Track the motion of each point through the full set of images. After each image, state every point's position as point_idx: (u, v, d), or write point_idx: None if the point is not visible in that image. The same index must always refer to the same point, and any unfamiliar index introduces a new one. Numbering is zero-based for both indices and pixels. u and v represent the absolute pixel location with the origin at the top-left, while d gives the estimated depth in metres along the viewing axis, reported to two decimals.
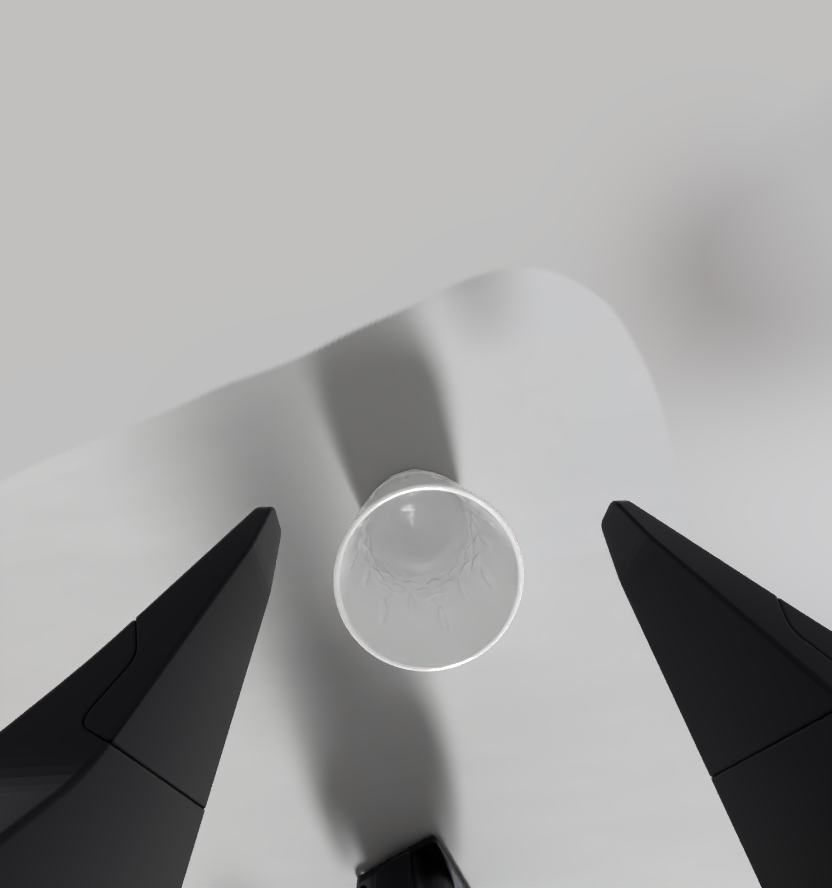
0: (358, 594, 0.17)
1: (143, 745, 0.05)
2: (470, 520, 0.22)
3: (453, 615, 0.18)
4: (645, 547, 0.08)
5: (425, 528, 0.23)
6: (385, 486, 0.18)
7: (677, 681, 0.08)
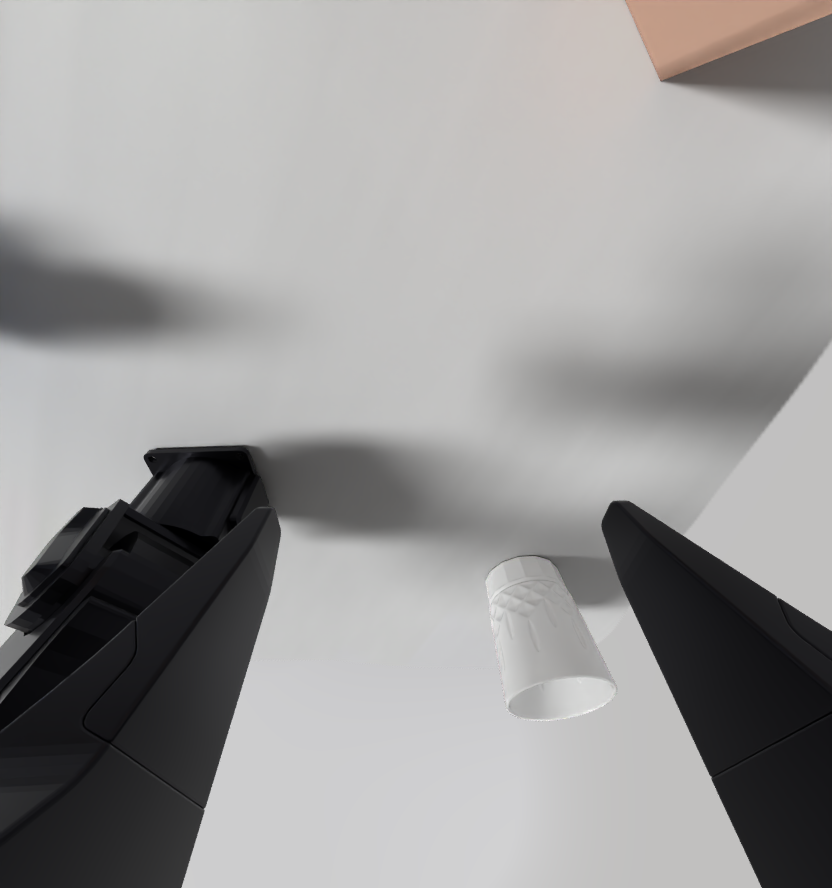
0: None
1: (143, 746, 0.05)
2: None
3: None
4: (645, 547, 0.08)
5: None
6: None
7: (677, 680, 0.08)
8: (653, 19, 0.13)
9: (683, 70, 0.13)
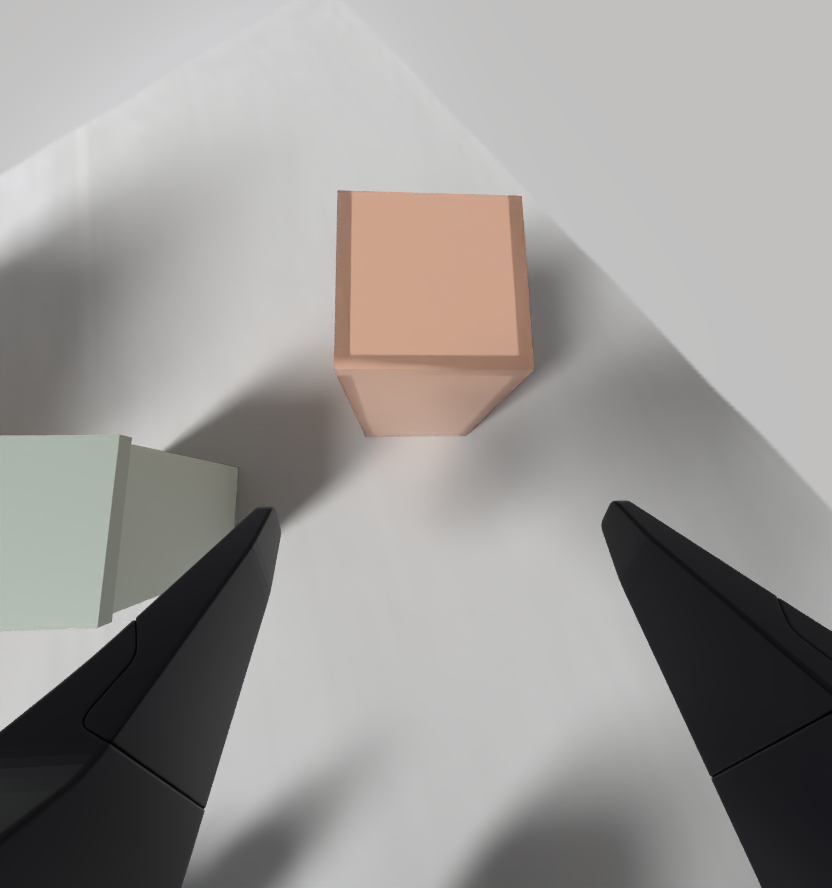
0: None
1: (143, 746, 0.05)
2: None
3: None
4: (645, 547, 0.08)
5: None
6: None
7: (677, 680, 0.08)
8: (437, 433, 0.23)
9: (469, 431, 0.22)
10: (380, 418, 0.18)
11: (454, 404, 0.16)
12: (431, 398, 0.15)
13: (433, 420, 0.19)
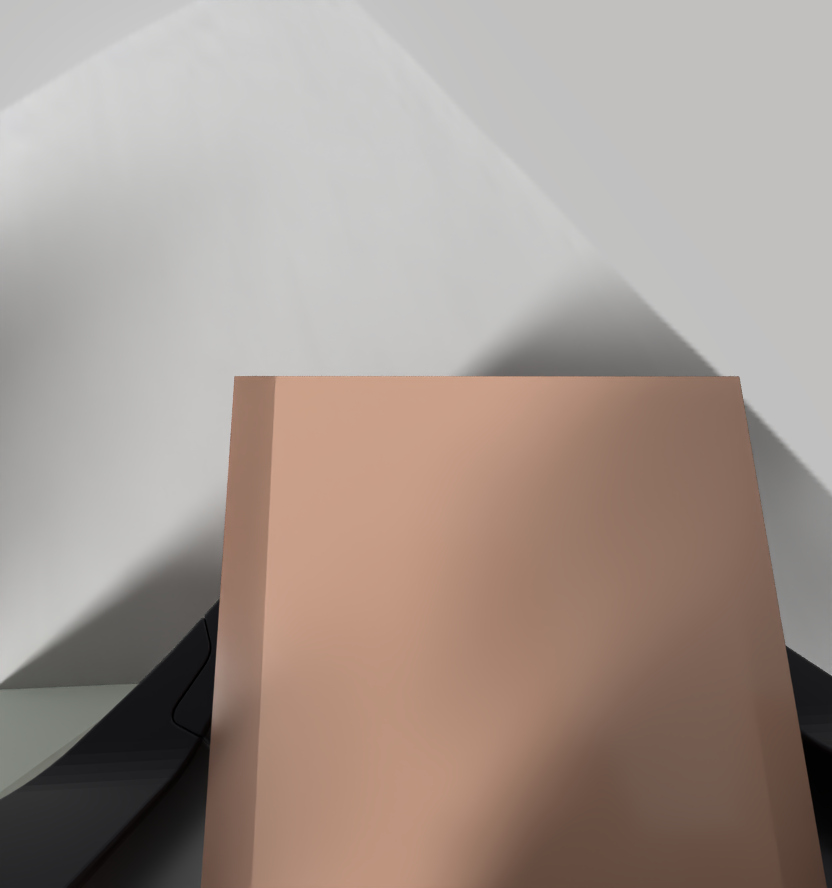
0: None
1: None
2: None
3: None
4: None
5: None
6: None
7: None
8: None
9: None
10: None
11: None
12: None
13: None
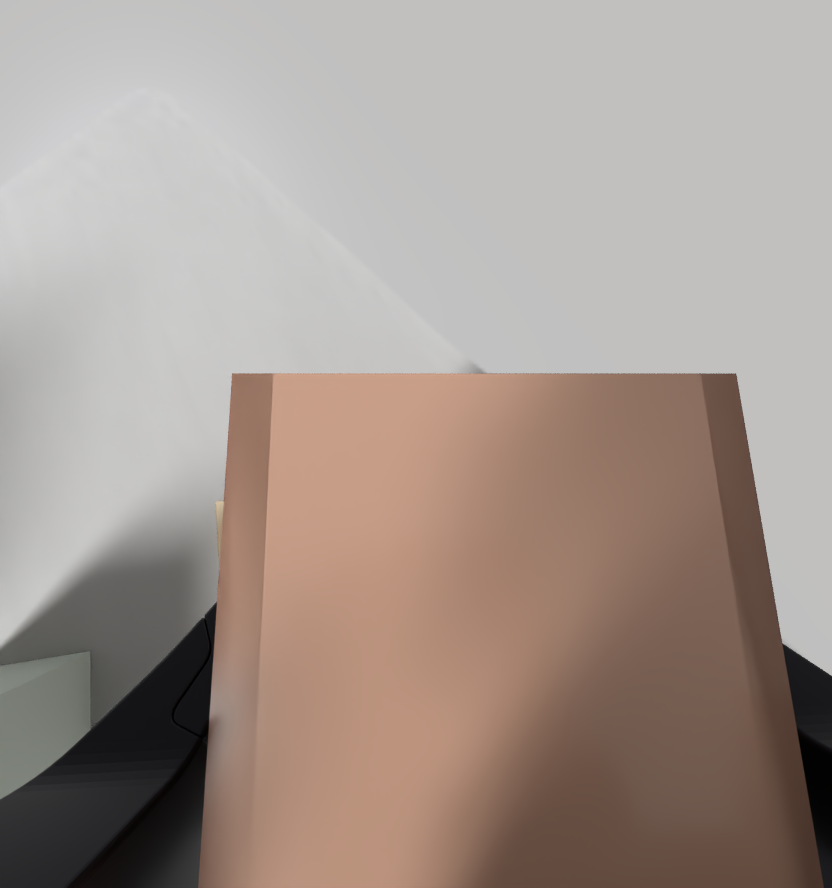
0: None
1: None
2: None
3: None
4: None
5: None
6: None
7: None
8: None
9: None
10: None
11: None
12: None
13: None
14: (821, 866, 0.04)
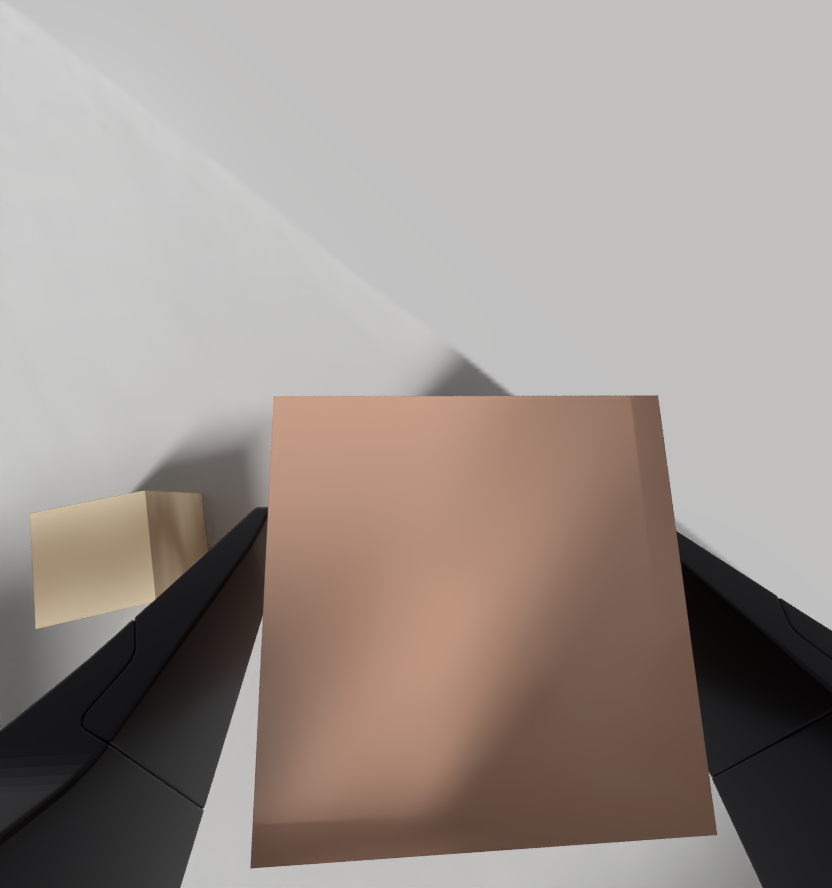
0: None
1: (142, 746, 0.05)
2: None
3: None
4: None
5: None
6: None
7: None
8: None
9: None
10: None
11: None
12: None
13: None
14: None
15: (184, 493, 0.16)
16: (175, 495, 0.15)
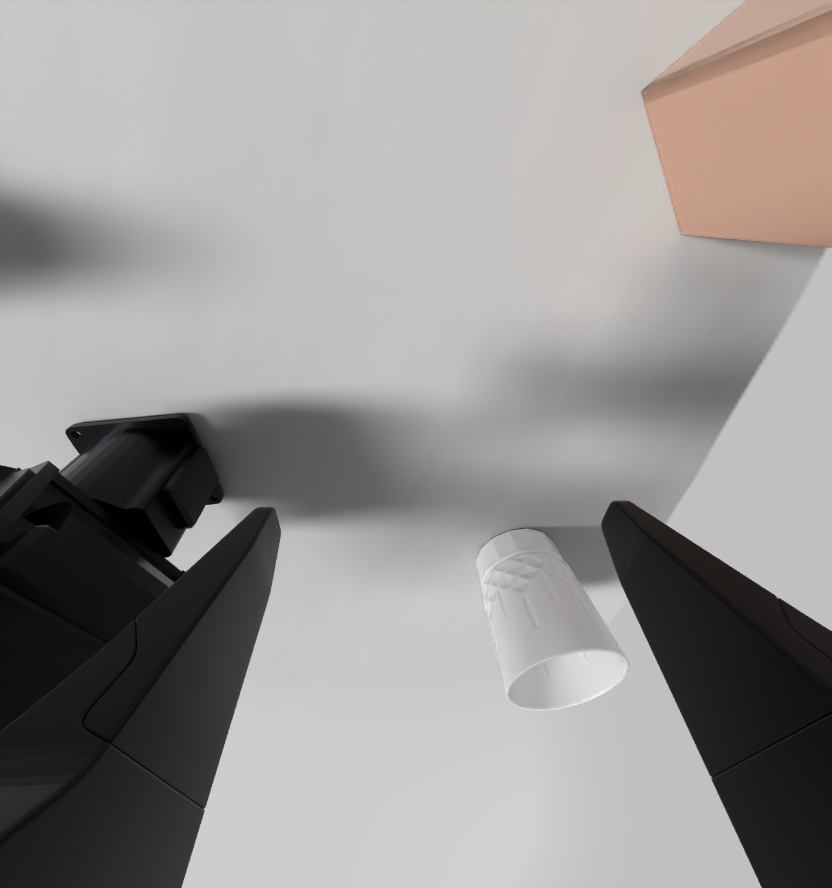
0: None
1: (143, 746, 0.05)
2: None
3: None
4: (645, 547, 0.08)
5: None
6: None
7: (677, 680, 0.08)
8: (685, 196, 0.16)
9: (702, 235, 0.17)
10: (753, 89, 0.11)
11: None
12: None
13: (752, 177, 0.13)
14: None
15: None
16: None
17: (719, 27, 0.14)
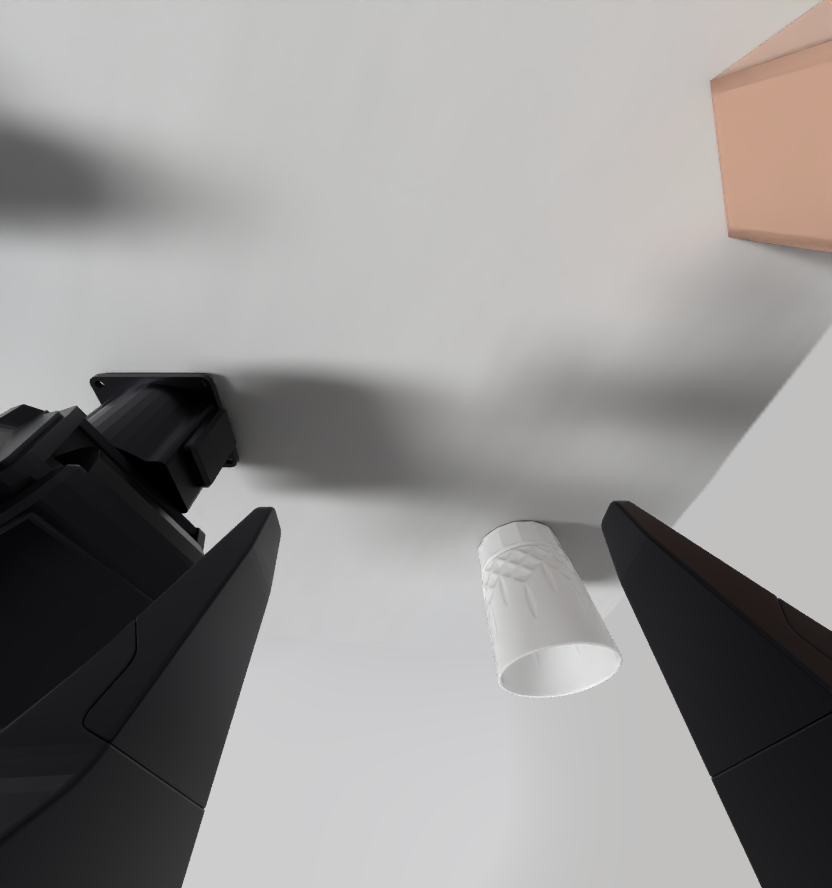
0: None
1: (143, 746, 0.05)
2: None
3: None
4: (645, 547, 0.08)
5: None
6: None
7: (677, 680, 0.08)
8: (740, 196, 0.16)
9: (752, 239, 0.17)
10: None
11: None
12: None
13: (816, 181, 0.13)
14: None
15: None
16: None
17: (802, 18, 0.13)
